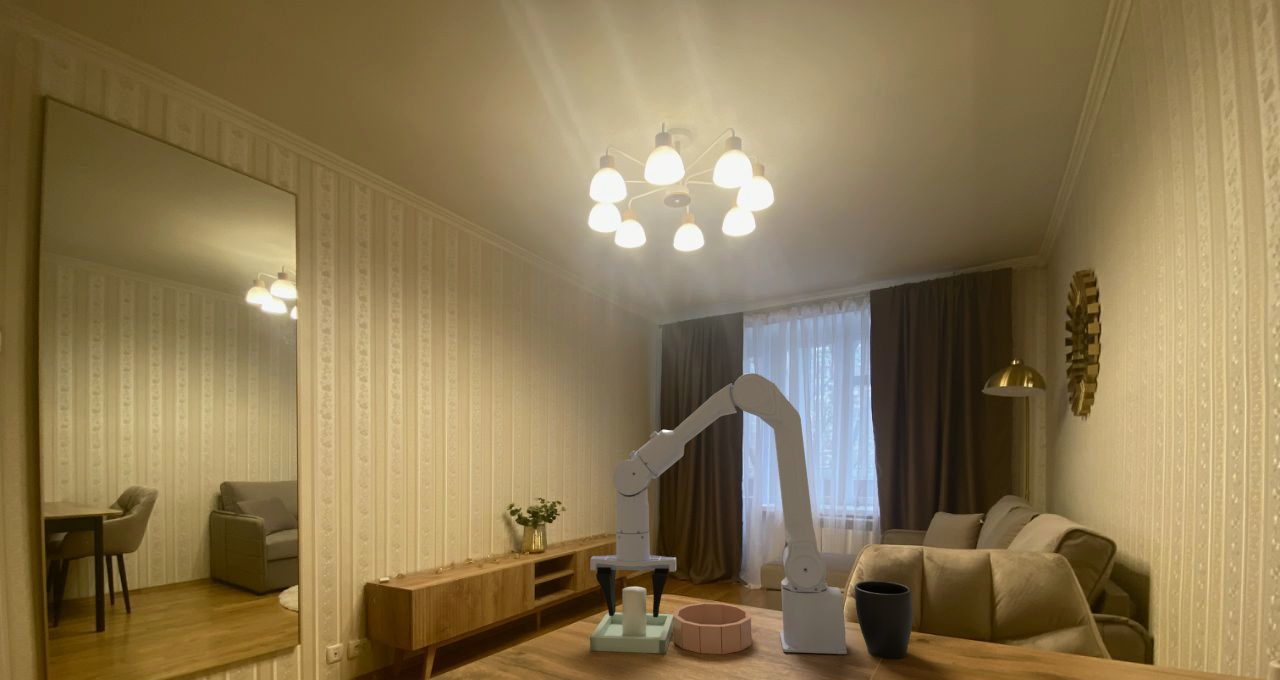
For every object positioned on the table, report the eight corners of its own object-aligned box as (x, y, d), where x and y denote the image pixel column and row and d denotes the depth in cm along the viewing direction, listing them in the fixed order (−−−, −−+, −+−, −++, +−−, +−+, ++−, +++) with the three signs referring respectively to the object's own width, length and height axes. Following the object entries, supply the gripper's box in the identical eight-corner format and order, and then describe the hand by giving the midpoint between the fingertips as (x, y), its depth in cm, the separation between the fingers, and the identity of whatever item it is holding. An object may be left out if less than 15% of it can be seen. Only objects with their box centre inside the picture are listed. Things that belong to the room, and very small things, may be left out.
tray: (674, 626, 106) (673, 614, 107) (665, 653, 94) (665, 639, 94) (607, 623, 108) (607, 612, 109) (590, 650, 96) (590, 637, 96)
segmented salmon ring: (750, 628, 105) (749, 603, 105) (752, 655, 92) (751, 627, 93) (678, 625, 107) (677, 601, 107) (670, 652, 94) (669, 624, 95)
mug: (904, 636, 99) (899, 575, 101) (922, 664, 88) (916, 595, 89) (852, 633, 101) (848, 574, 103) (862, 660, 90) (858, 593, 91)
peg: (647, 630, 103) (647, 587, 104) (644, 638, 99) (644, 593, 100) (624, 628, 103) (624, 586, 104) (620, 637, 99) (620, 592, 100)
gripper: (677, 527, 106) (679, 608, 104) (596, 526, 108) (597, 606, 107) (673, 534, 99) (675, 622, 97) (587, 533, 102) (587, 619, 100)
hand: (634, 614), depth 102 cm, fingers open, 7 cm apart
